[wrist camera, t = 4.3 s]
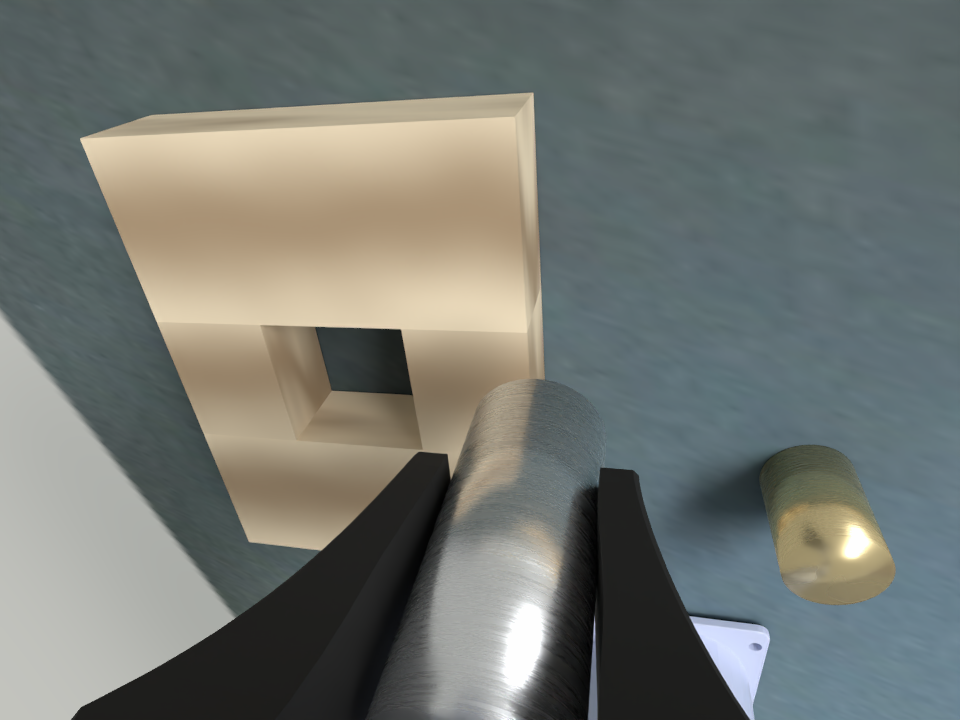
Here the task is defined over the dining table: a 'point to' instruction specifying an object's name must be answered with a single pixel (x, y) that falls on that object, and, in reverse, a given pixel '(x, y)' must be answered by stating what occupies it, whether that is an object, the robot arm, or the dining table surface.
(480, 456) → the long pin
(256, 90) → the dining table surface
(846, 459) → the short pin
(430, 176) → the hole block
